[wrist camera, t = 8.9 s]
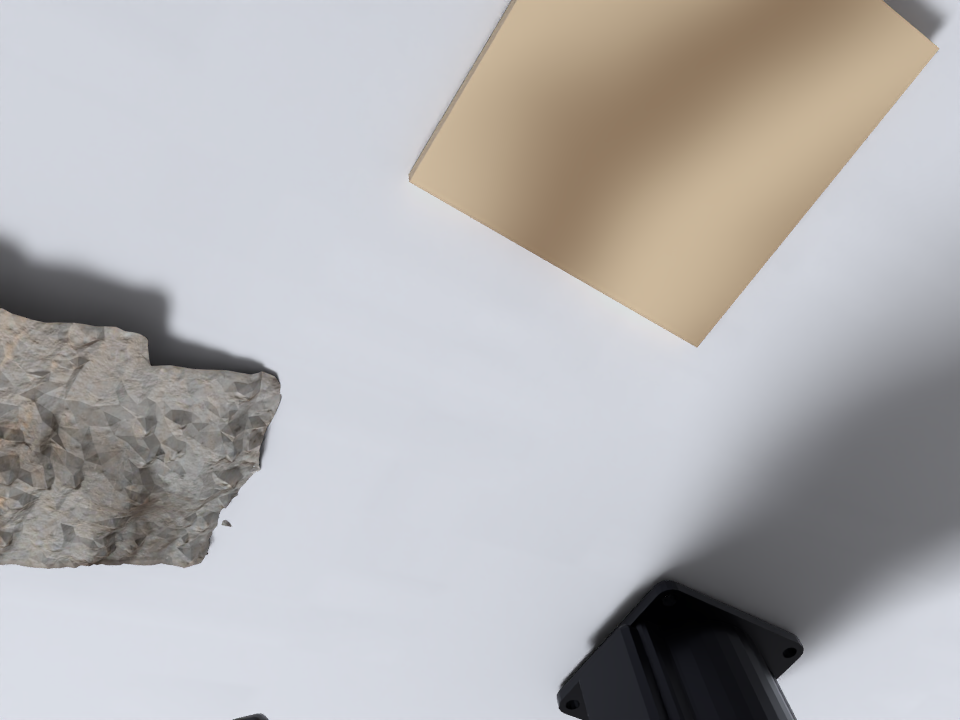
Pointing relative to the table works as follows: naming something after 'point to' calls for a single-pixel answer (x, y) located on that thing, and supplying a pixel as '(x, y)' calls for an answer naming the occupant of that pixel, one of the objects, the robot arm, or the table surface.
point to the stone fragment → (117, 447)
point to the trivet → (666, 136)
